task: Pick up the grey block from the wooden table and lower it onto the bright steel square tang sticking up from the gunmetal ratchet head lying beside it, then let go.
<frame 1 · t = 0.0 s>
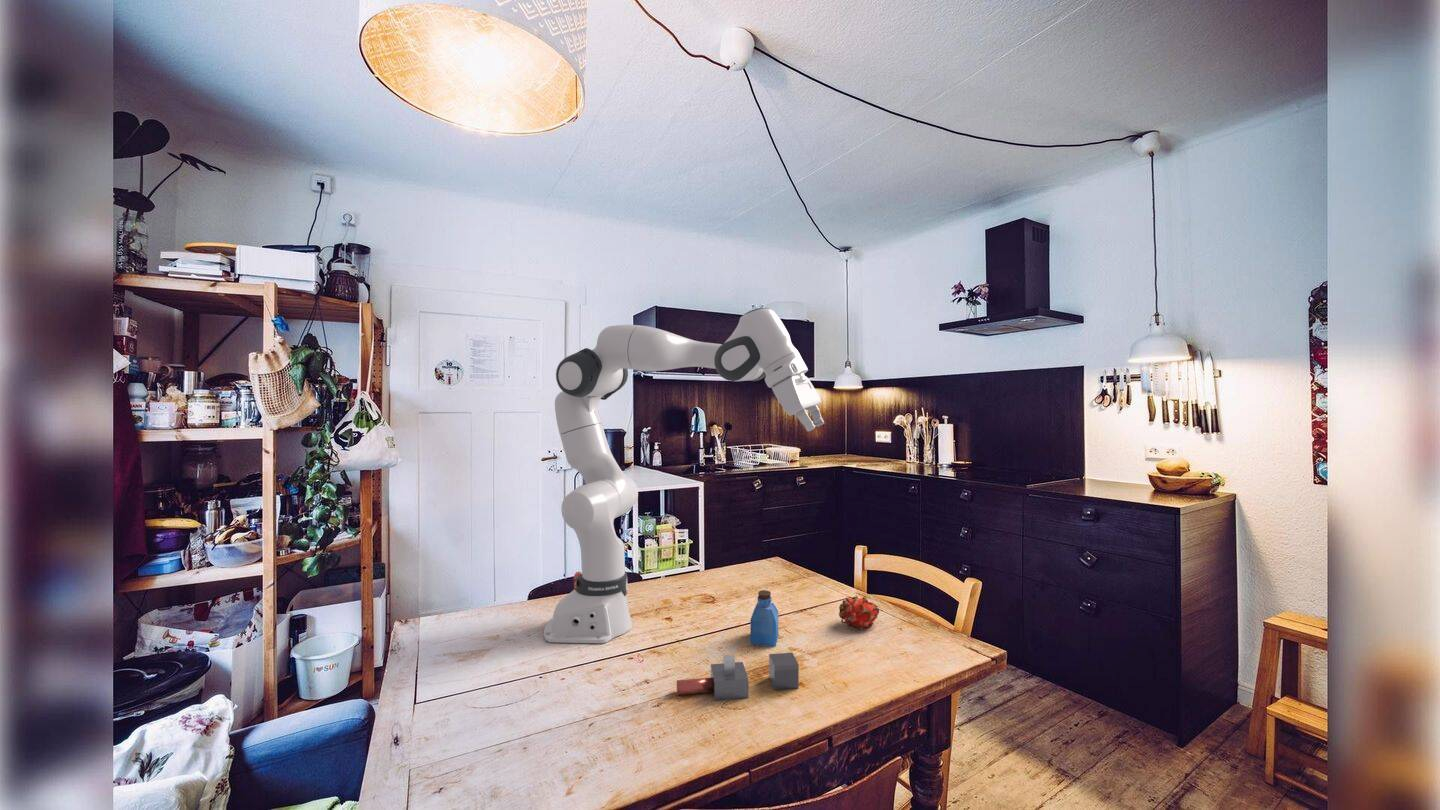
hand: (816, 427, 129), 54 cm above the table, tool tilted 30°, fingers open, 8 cm apart
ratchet: (729, 689, 124), on the table
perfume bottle: (764, 640, 146), on the table
grey block: (783, 682, 126), on the table
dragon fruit: (859, 626, 153), on the table
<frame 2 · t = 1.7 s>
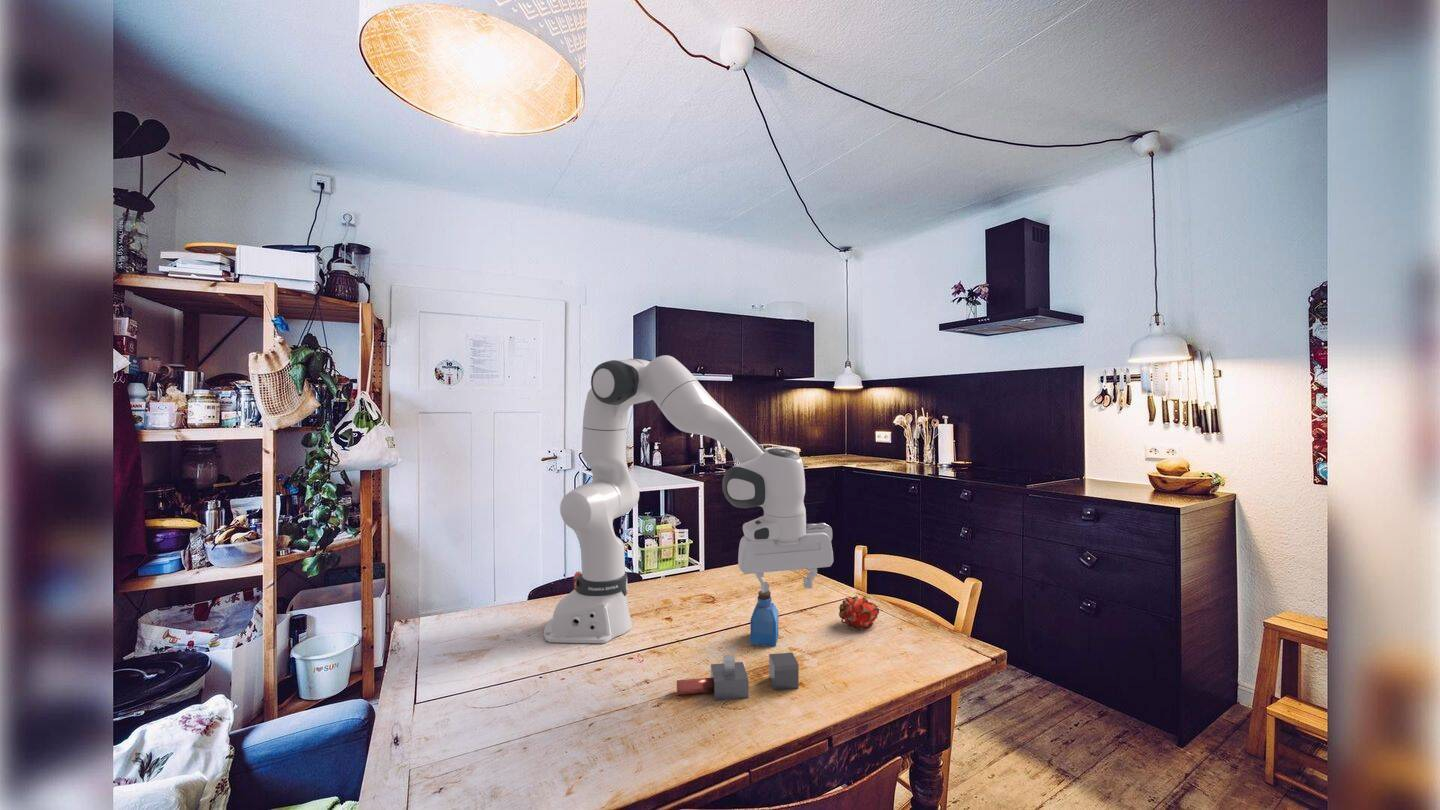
hand: (786, 589, 125), 21 cm above the table, tool pointing down, fingers open, 8 cm apart
nothing on the table moved.
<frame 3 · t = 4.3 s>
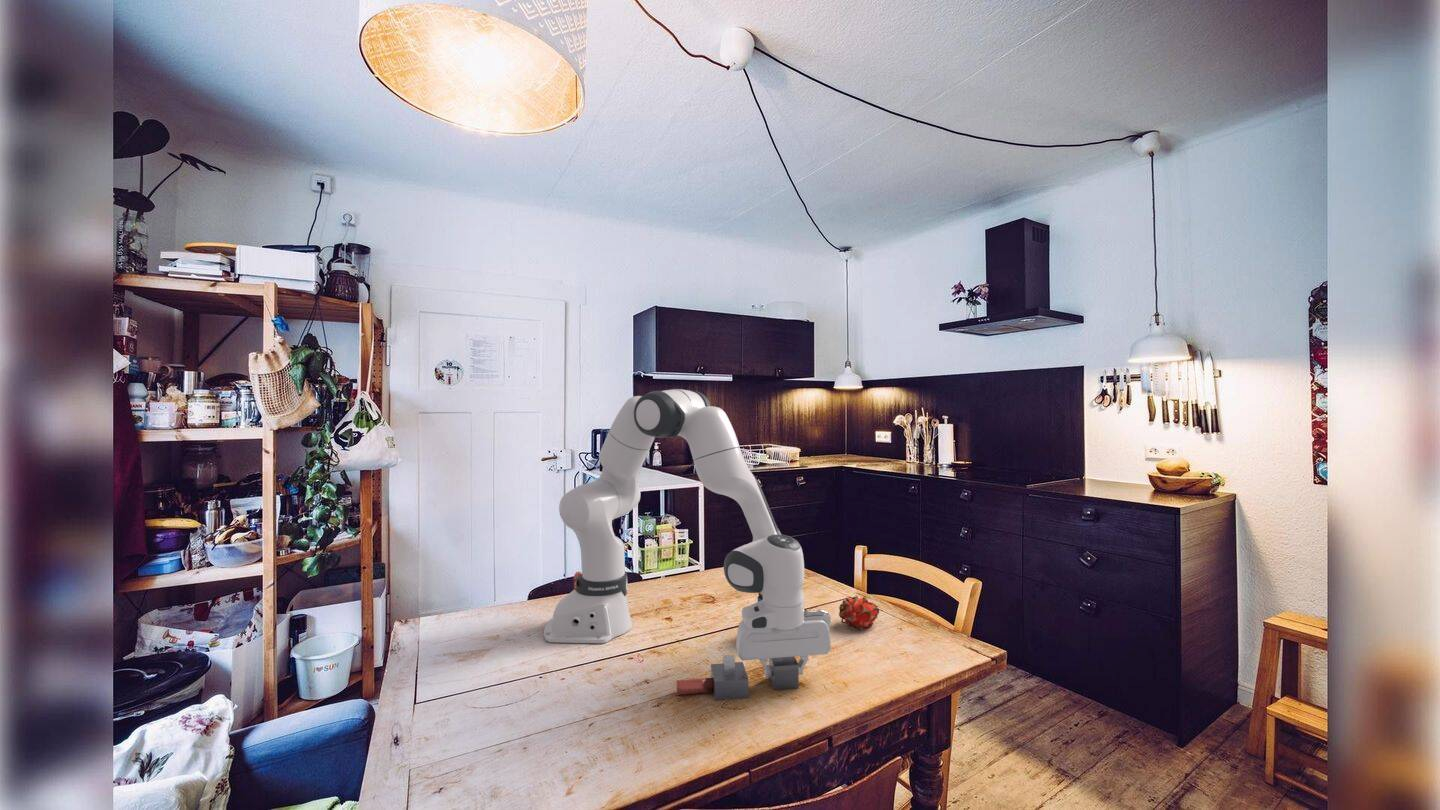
hand: (783, 674, 126), 2 cm above the table, tool pointing down, fingers closed on grey block, 5 cm apart
grey block: (783, 682, 126), on the table, touching gripper
everything else where it was.
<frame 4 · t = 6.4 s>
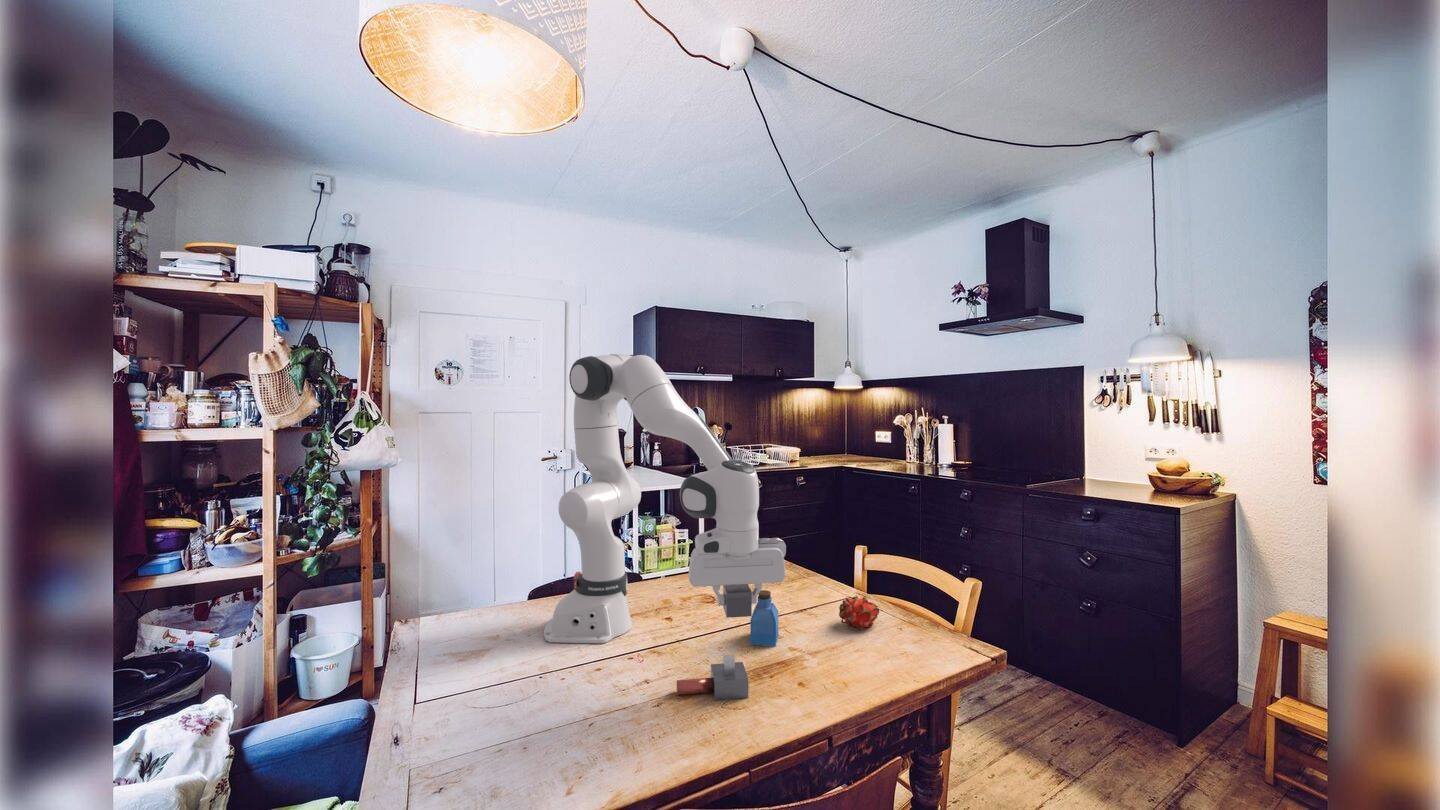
hand: (736, 603, 123), 18 cm above the table, tool pointing down, fingers closed on grey block, 5 cm apart
grey block: (736, 611, 123), point 17 cm above the table, touching gripper
everything else where it was.
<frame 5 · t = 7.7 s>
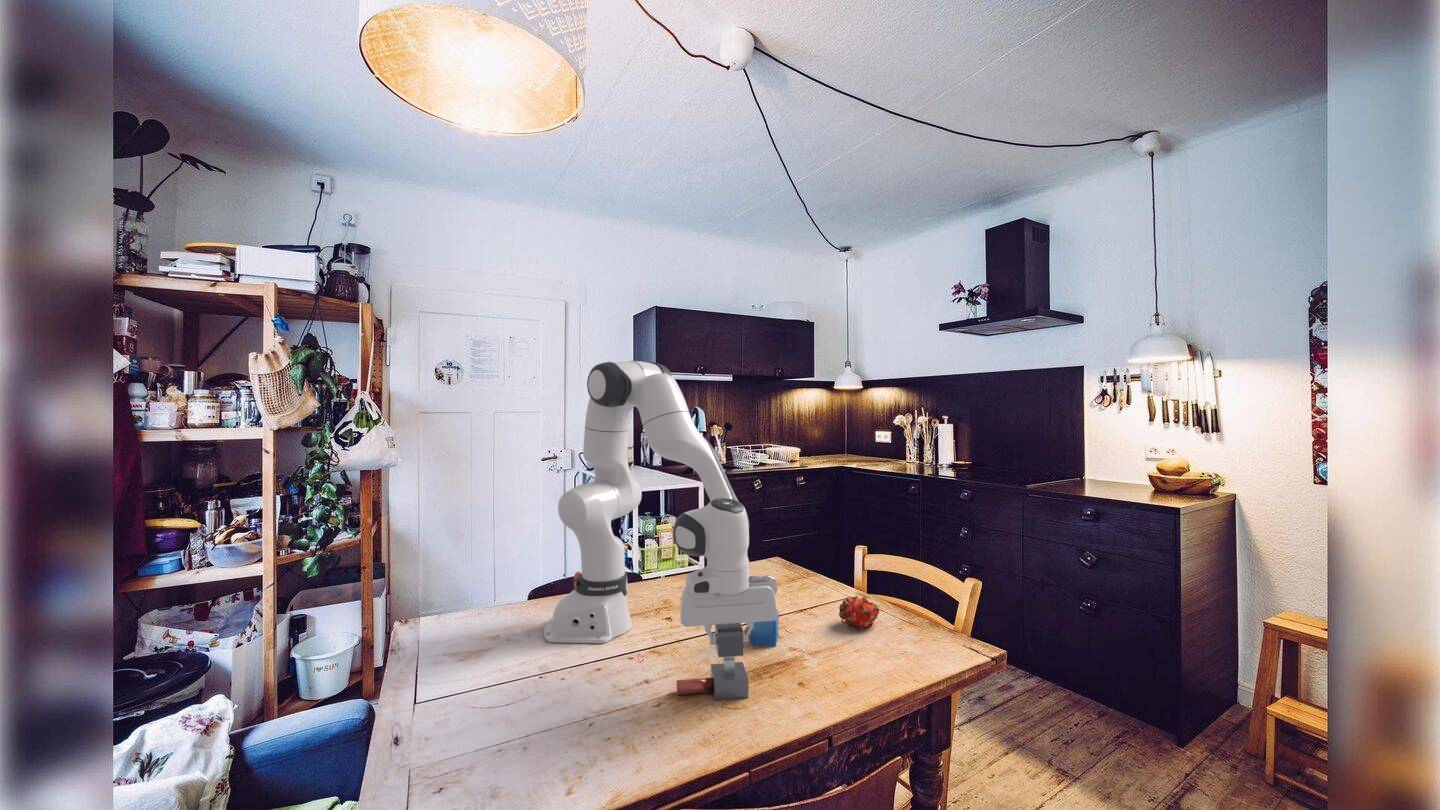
hand: (728, 642, 123), 10 cm above the table, tool pointing down, fingers closed on grey block, 5 cm apart
grey block: (729, 650, 123), point 9 cm above the table, touching gripper
everything else where it was.
when the fingers open (7 cm above the table, at t = 8.9 s): grey block drops 1 cm, resting on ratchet.
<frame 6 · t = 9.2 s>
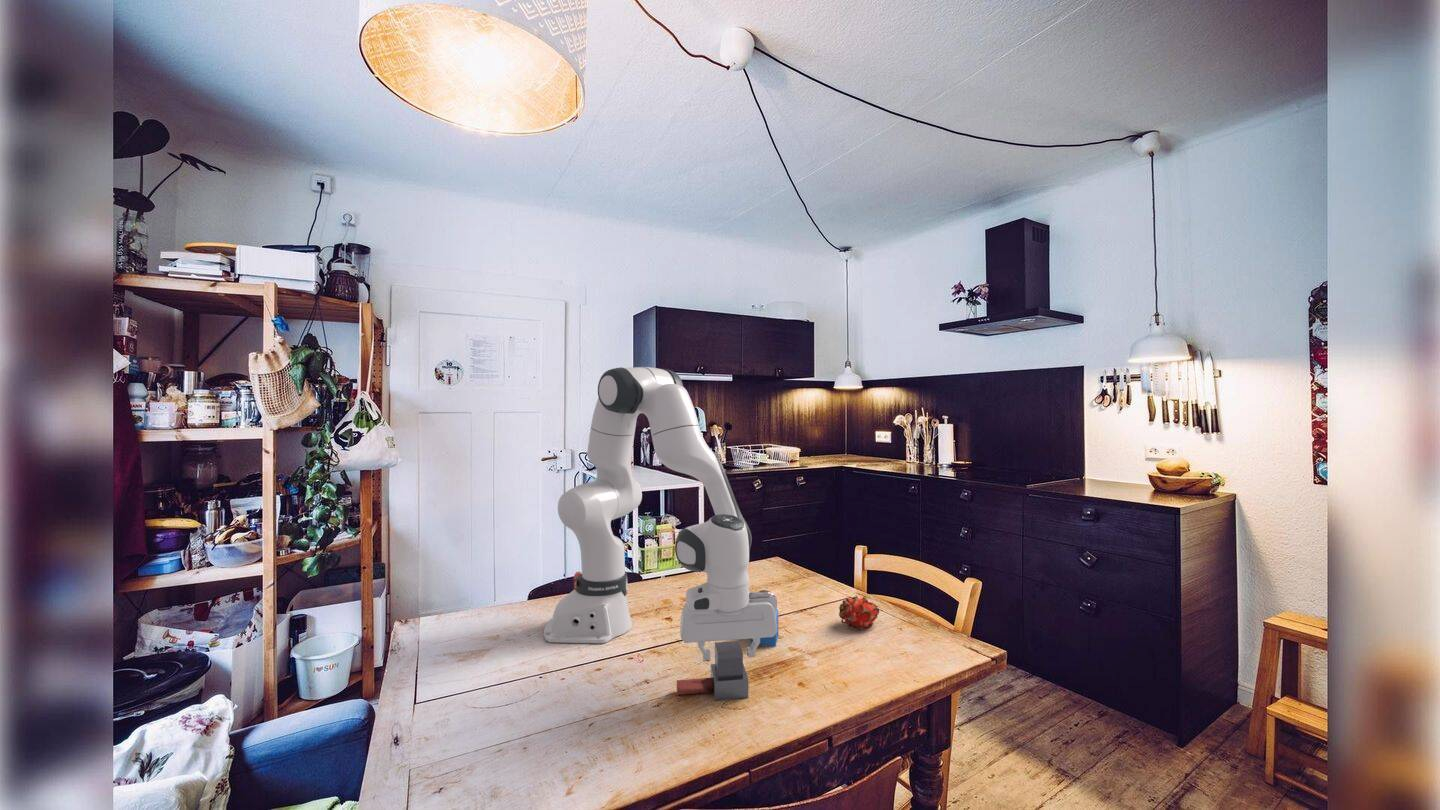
hand: (728, 658, 123), 7 cm above the table, tool pointing down, fingers open, 8 cm apart
grey block: (728, 671, 123), point 4 cm above the table, touching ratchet
everything else where it was.
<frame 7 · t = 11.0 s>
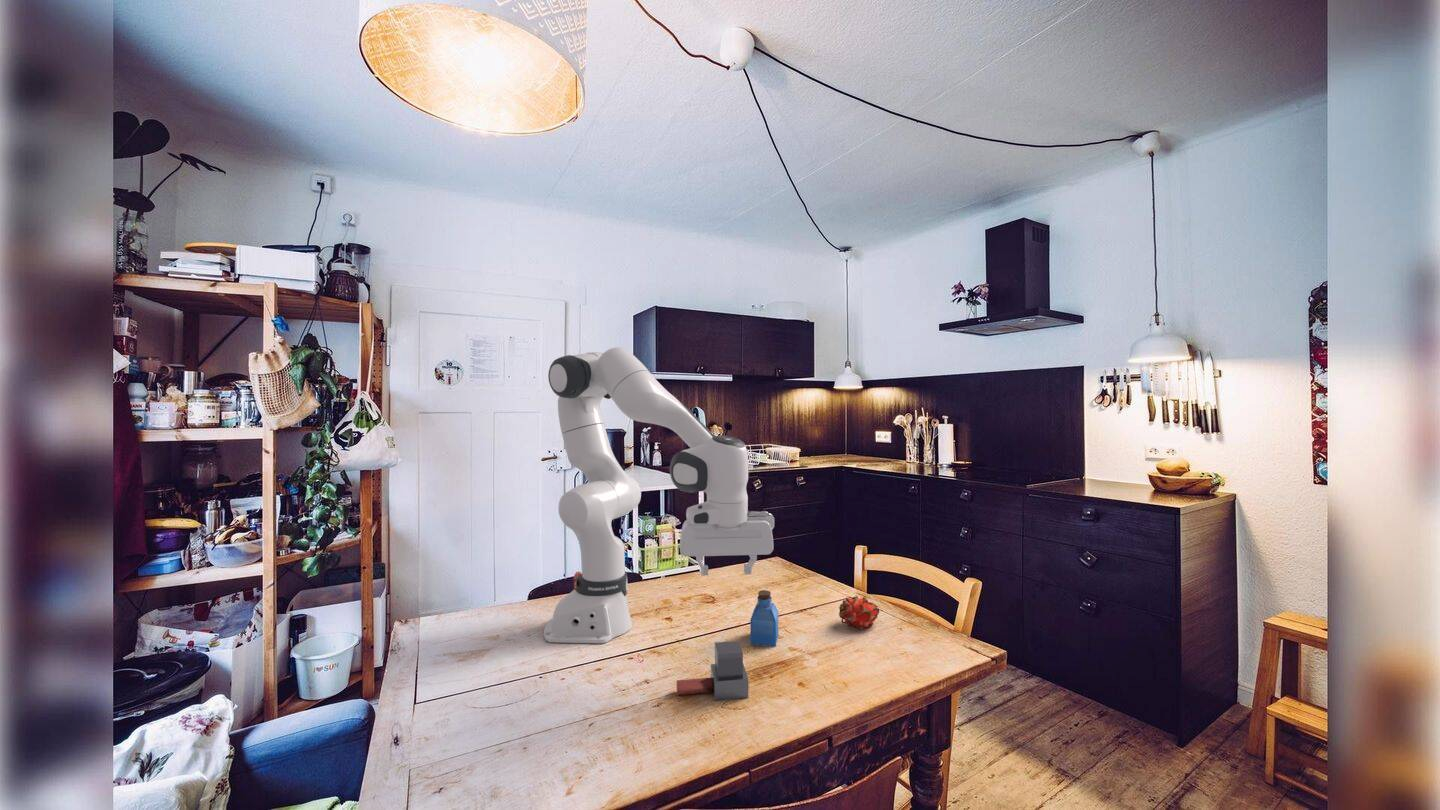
hand: (726, 574, 127), 23 cm above the table, tool pointing down, fingers open, 8 cm apart
nothing on the table moved.
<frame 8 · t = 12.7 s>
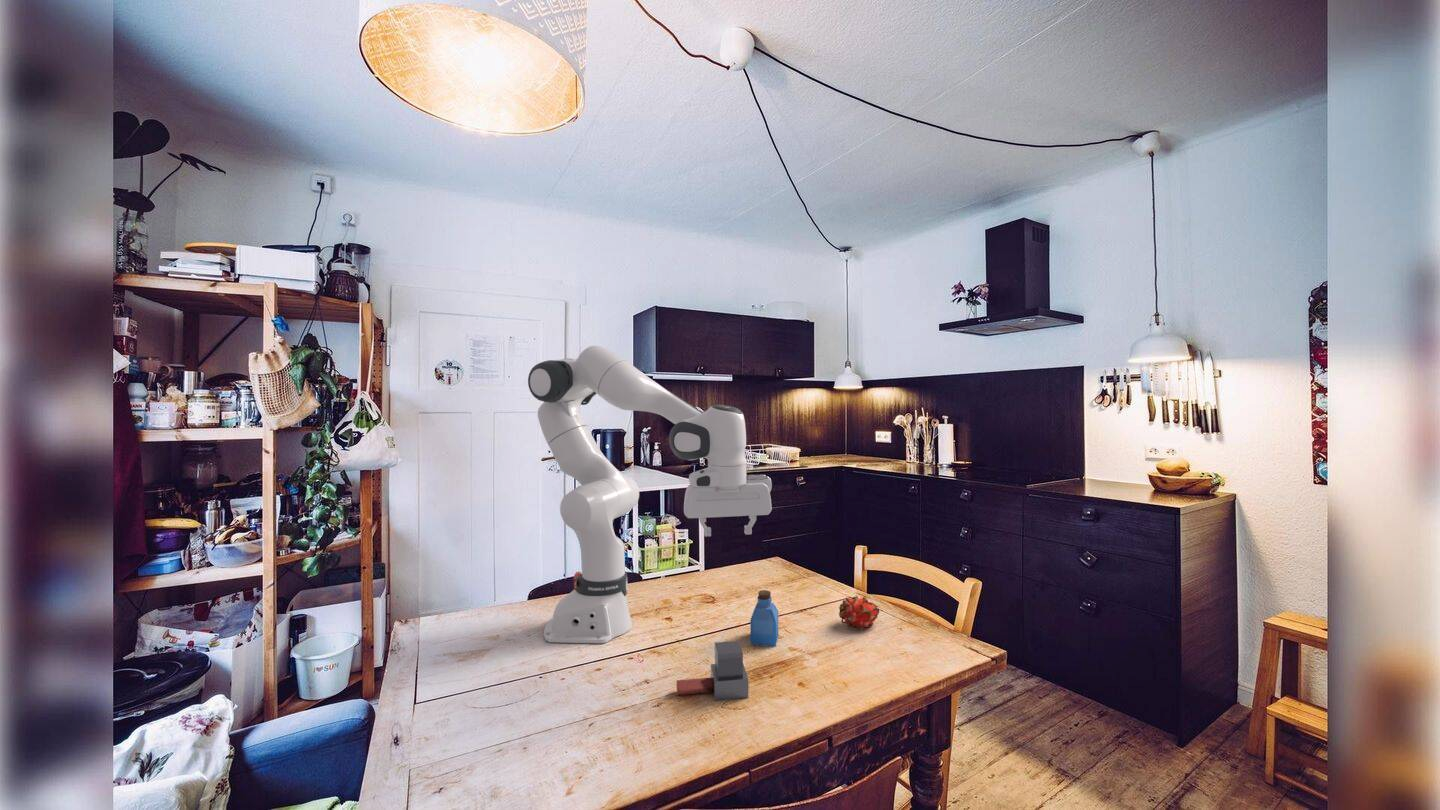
hand: (727, 534, 136), 29 cm above the table, tool pointing down, fingers open, 8 cm apart
nothing on the table moved.
at the end: grey block 0.1 cm off-centre on the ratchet, point 4.0 cm above the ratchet's base; grey block tilted 0°; the gripper is holding nothing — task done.
